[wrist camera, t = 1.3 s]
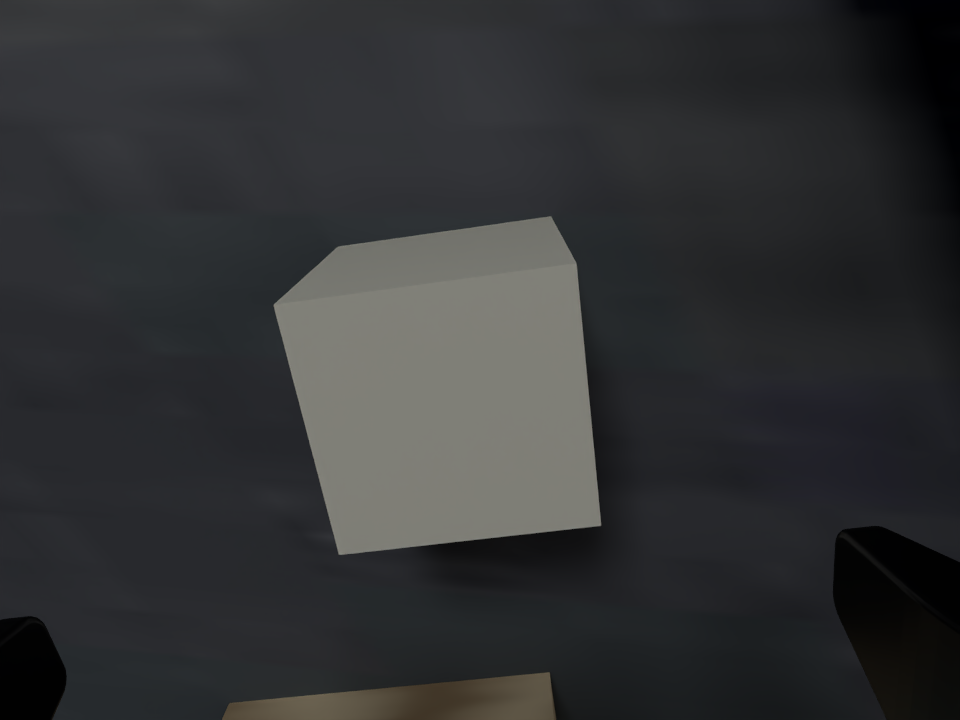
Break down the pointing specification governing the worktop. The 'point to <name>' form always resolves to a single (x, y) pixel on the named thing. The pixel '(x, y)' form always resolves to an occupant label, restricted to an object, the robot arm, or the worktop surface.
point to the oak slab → (415, 702)
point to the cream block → (445, 386)
